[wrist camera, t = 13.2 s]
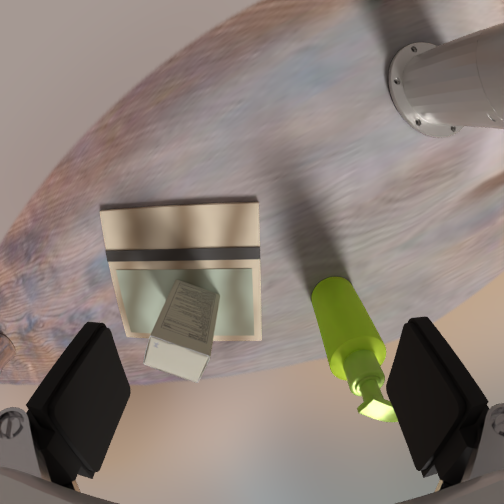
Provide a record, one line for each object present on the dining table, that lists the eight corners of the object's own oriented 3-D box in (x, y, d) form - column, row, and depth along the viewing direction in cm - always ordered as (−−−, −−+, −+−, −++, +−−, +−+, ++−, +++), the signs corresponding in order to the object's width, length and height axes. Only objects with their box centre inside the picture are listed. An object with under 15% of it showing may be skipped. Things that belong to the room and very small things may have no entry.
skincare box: (167, 304, 40) (139, 363, 29) (176, 277, 39) (146, 333, 27) (212, 321, 41) (198, 385, 29) (223, 295, 39) (210, 357, 28)
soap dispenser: (342, 324, 42) (383, 437, 23) (302, 303, 41) (329, 424, 22) (367, 291, 40) (429, 398, 21) (328, 268, 39) (378, 379, 20)
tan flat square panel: (258, 201, 36) (258, 203, 35) (261, 337, 43) (261, 341, 42) (102, 210, 36) (98, 212, 35) (128, 333, 43) (126, 337, 42)
